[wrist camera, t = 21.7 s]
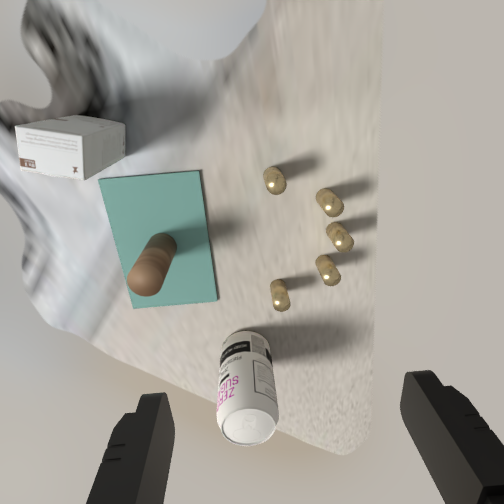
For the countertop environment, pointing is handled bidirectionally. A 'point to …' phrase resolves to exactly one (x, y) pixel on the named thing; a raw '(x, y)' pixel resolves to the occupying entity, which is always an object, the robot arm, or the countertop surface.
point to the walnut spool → (152, 265)
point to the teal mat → (163, 221)
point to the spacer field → (334, 231)
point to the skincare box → (70, 146)
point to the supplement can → (246, 390)
